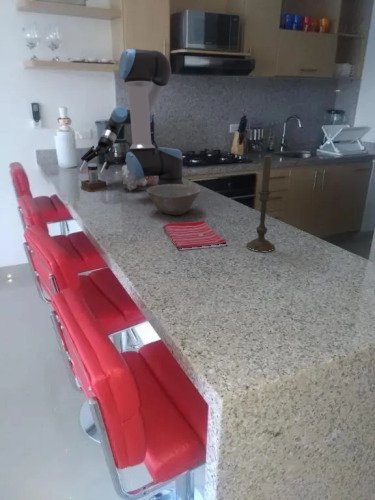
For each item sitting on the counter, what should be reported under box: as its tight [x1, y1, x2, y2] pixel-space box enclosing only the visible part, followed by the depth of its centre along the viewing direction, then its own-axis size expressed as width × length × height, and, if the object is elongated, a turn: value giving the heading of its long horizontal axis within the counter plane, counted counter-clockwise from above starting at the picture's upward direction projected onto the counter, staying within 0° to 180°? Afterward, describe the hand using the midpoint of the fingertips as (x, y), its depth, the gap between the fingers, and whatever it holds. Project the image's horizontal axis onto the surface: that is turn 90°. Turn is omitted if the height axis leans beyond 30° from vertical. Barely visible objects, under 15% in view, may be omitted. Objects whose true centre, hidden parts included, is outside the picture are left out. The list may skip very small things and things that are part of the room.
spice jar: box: [87, 162, 99, 183], centre depth 203 cm, size 5×5×12 cm
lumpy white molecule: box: [121, 159, 158, 192], centre depth 208 cm, size 20×18×25 cm
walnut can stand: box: [80, 178, 108, 193], centre depth 205 cm, size 10×10×4 cm
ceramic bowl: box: [146, 184, 201, 216], centre depth 163 cm, size 22×23×10 cm
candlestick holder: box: [246, 154, 276, 251], centre depth 121 cm, size 9×9×30 cm
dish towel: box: [163, 220, 227, 250], centre depth 136 cm, size 17×24×3 cm
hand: (91, 173), depth 202 cm, fingers open, 13 cm apart
